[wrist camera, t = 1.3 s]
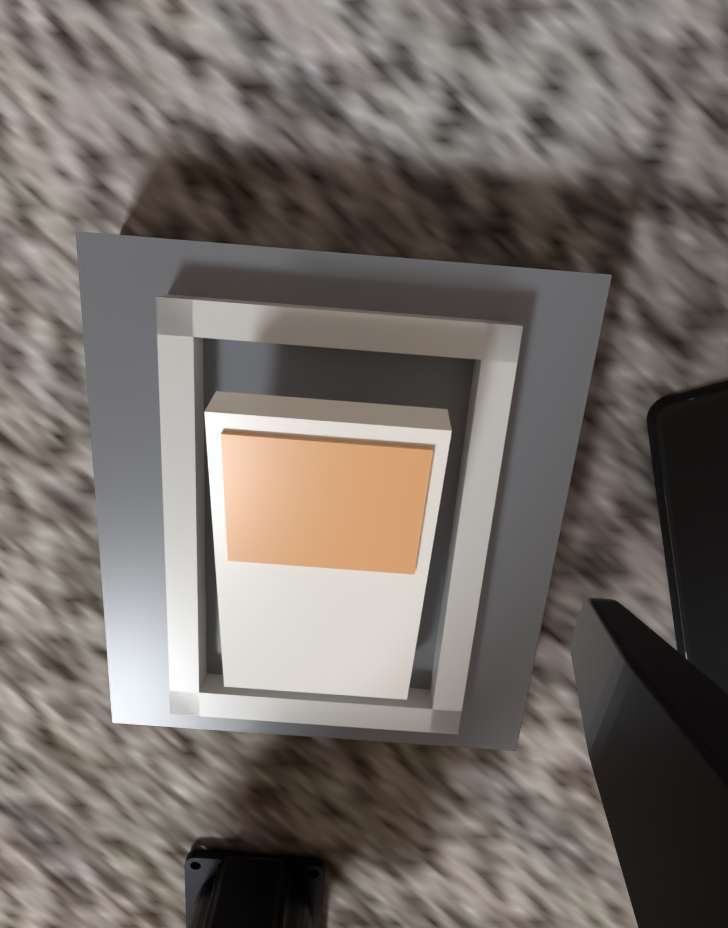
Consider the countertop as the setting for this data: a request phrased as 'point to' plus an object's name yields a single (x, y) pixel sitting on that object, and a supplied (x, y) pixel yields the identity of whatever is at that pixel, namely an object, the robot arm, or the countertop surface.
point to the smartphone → (695, 519)
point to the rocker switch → (322, 539)
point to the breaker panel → (342, 379)
